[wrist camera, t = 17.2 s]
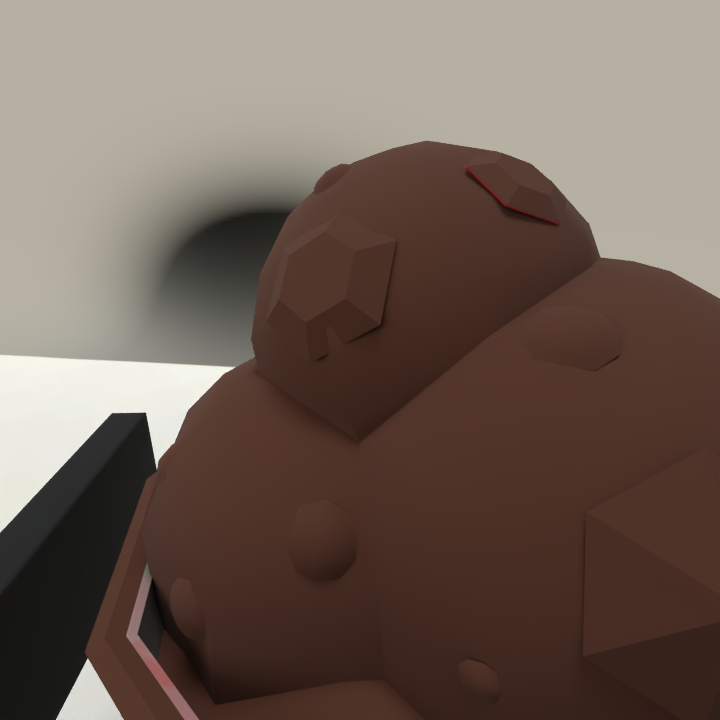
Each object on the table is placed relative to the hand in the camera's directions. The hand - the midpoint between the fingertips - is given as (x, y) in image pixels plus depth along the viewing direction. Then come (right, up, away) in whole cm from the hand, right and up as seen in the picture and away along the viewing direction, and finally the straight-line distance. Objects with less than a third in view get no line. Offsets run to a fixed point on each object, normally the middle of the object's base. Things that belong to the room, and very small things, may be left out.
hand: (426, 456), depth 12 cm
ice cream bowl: (0, -9, 0) cm, 9 cm away
